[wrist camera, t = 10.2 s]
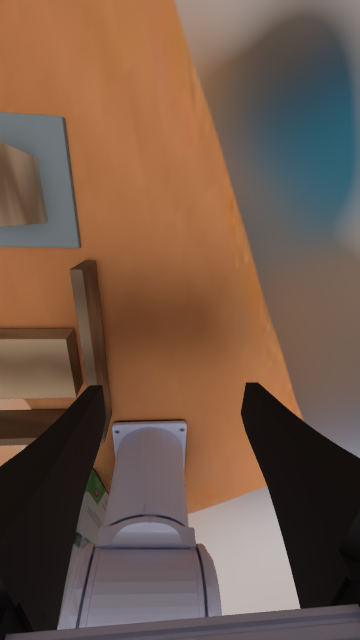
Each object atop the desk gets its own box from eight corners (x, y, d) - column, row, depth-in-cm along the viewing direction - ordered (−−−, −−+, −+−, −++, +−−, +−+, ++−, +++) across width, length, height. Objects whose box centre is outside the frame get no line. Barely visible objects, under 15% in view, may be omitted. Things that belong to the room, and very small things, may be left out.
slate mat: (80, 247, 19) (79, 248, 18) (-28, 244, 18) (-33, 245, 18) (64, 119, 16) (61, 116, 15) (-68, 110, 15) (-76, 107, 15)
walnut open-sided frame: (111, 413, 26) (104, 442, 22) (-28, 417, 25) (-57, 447, 21) (95, 260, 19) (82, 269, 16) (-94, 256, 18) (-149, 265, 15)
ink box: (54, 474, 29) (-11, 631, 18) (94, 466, 29) (53, 619, 18) (81, 515, 32) (41, 667, 22) (117, 508, 32) (94, 657, 21)
